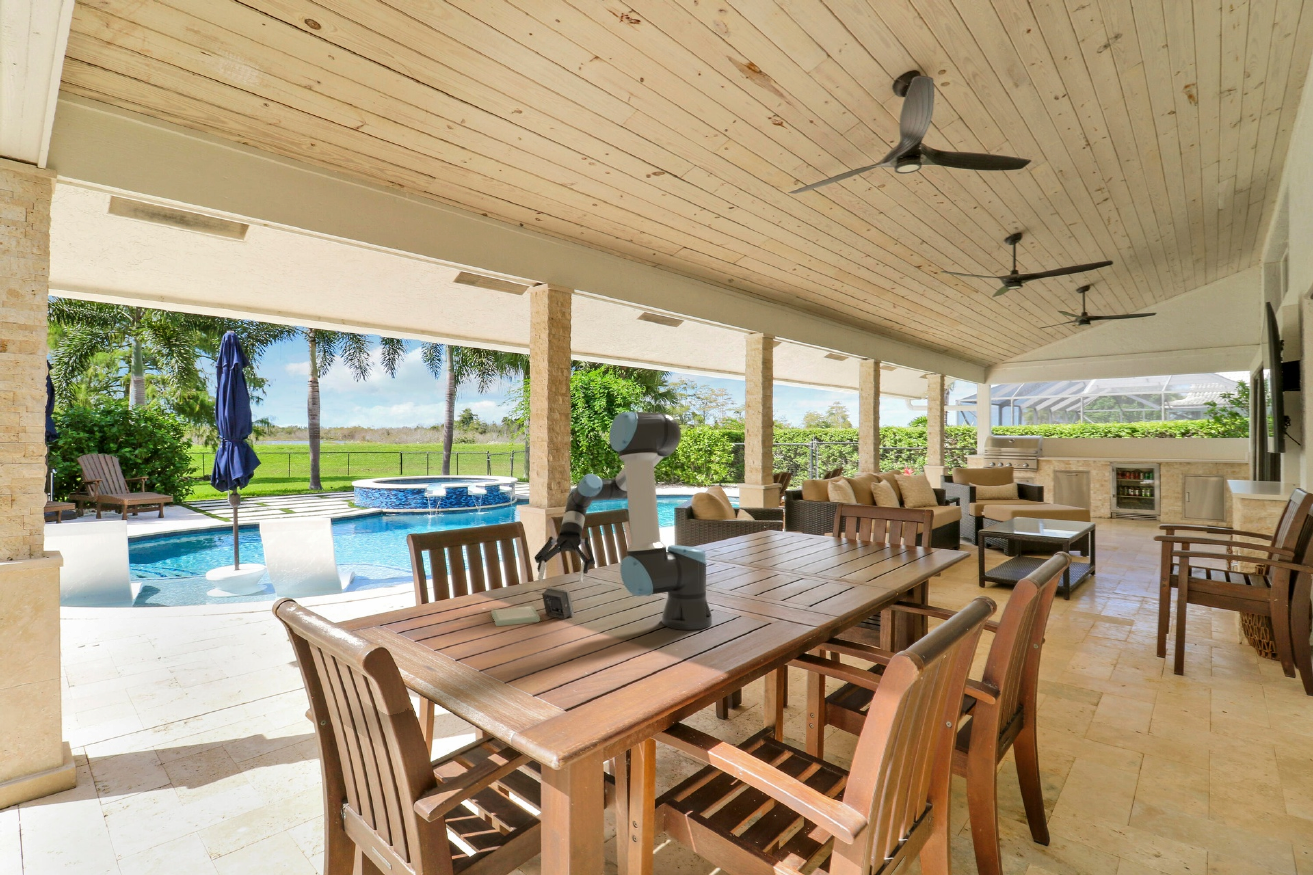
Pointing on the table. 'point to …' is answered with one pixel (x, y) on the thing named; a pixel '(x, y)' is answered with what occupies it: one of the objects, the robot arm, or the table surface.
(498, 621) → the board
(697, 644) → the table surface
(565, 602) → the electrical switch
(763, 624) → the table surface
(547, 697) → the table surface
